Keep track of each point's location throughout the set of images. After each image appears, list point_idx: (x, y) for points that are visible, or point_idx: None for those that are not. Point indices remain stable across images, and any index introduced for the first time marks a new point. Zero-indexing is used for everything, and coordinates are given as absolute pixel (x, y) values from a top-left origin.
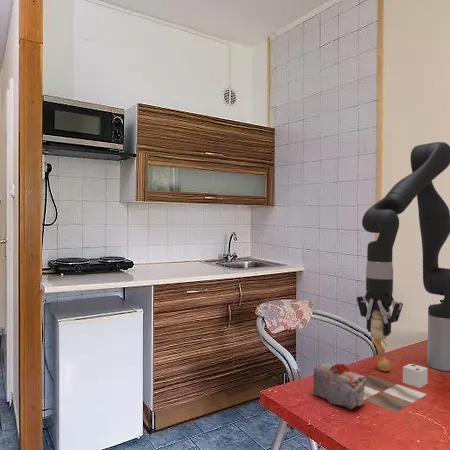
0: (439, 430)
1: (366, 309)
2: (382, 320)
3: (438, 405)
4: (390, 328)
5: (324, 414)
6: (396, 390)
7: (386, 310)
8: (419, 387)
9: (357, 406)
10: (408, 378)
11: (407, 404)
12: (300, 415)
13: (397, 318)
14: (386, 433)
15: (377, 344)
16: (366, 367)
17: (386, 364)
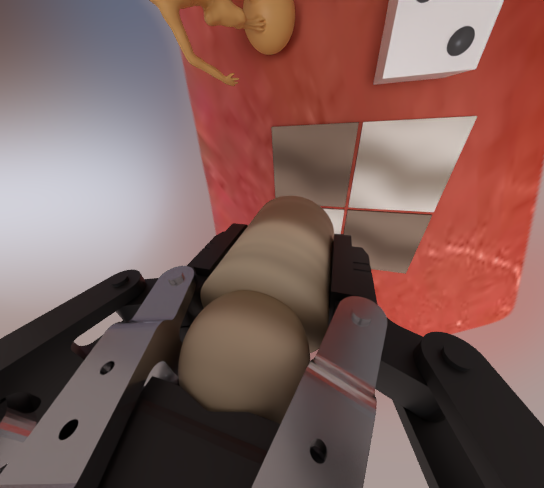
0: (504, 284)
1: (95, 324)
2: (313, 350)
3: (516, 168)
4: (370, 282)
5: None
6: (375, 172)
7: (299, 434)
8: (443, 77)
9: None
10: (401, 80)
11: (422, 228)
12: None
13: (495, 402)
14: (407, 324)
15: (201, 4)
16: (223, 60)
17: (284, 32)
